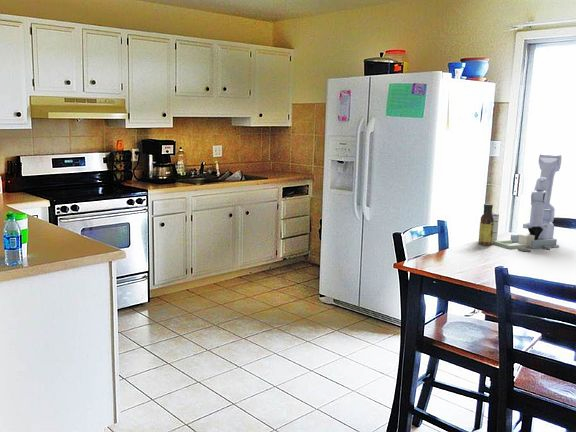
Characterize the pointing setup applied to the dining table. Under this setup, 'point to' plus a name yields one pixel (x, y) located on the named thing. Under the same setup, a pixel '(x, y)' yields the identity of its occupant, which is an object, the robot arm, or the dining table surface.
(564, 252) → the dining table surface
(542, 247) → the crook tool
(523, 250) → the hole marker
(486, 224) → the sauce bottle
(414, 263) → the dining table surface
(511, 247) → the pale green flat block
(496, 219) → the syrup box
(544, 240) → the pale blue square frame
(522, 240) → the cube
